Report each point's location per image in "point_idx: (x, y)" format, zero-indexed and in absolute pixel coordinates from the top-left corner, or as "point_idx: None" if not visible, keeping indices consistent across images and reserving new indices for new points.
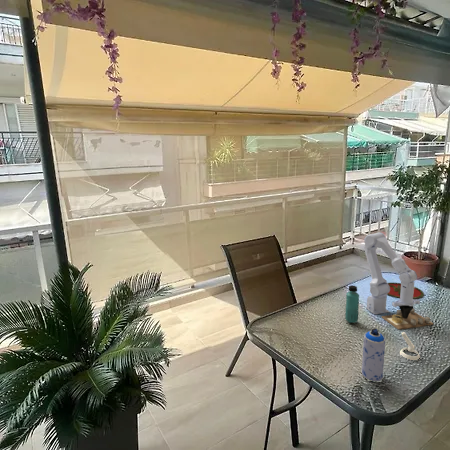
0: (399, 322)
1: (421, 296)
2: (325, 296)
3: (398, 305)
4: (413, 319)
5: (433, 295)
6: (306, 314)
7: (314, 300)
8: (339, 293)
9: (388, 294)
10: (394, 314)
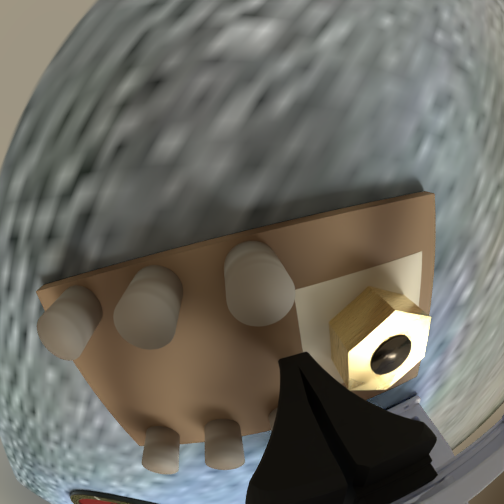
0: (383, 292)
1: (78, 494)
2: None
3: (479, 448)
4: (258, 307)
5: (41, 481)
6: None
7: (488, 415)
8: None
9: None
10: None
